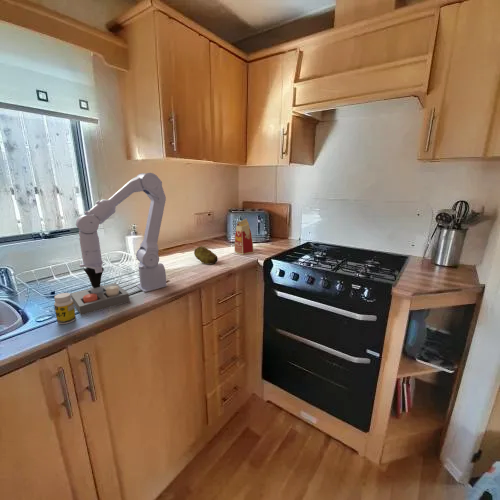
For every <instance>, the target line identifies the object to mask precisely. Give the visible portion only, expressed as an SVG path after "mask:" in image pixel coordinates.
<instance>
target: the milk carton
mask: <svg viewBox="0 0 500 500" xmlns="http://www.w3.org/2000/svg"><path fill="white" fill-rule="evenodd" d="M250 227H251V226H250V224H249V221H248V218H247V217H246V218H245V219H243V220H239V221H237V222H236V227H235V234H234V235H235V236H234V252H235V253H236V254H238V255H247V254H249V255H250V254H254V241H253V236H252V231H251V228H250Z"/></svg>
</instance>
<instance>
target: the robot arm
mask: <svg viewBox="0 0 500 500" xmlns="http://www.w3.org/2000/svg"><path fill="white" fill-rule="evenodd" d="M140 192H143V193H145V195H146V196H147V197H148V198H149V200H150V203H149V209H148V214H147V219H146V224H145V229H144V236H143V239H142V240H141V243H140V245H139V248H138V249H137V251H136V253H135V258H136V259H137V261H139V263H138V266H137V267H138V273H139V274H138V275H139V283H140V284H138V285H136V287H137V288H138V289H139V290H141V291H143V293H146V292H150V291H154V290H158V289H161V288H165V287H168V284H167V276H166V275H167V273H166V267H165V266H164V264H163V263H159V262H160V255H159V250H160V249H159V245H158V241H159V236H160V232H161V225H162V221H163V216H164V211H165V206H166V201H167V198H166V194H165V191H164V188H163V182H162V180H161V179H160V178H159V176H157V174H155V173H153V172H146V173H145V172H142V173H139V174H137V175H136V176H134V177H133V178H131V179H130V180H128V181H127V182H126V183H125V184H124V185H123V186H122V187H121V188H119V190H118V191H116V192H115V193H114V194H113V195H112V196H110V198H108V199H101V200H96V201H95V203H94V204H95V205H93V207H92V208H90V209H88V210H84V214H83V215H80V216H79V217H78V218H77V219H76V223H75V226H76V227H77V229H78V235H79V238H78V240H79V245H80V251H81V256H82V257H81V258H82V263H79V267H80V268H83V271H84V272H85V274H86V275H87V277H88V281H89V282H90V284H91V287H93V288H97V287H100V285H102V284H101V283H102V281H101V280H102V276H103V273H104V271H105V268H104V267H103V263H104V261H103V257H102V252H101V245H100V244H101V243H100V237H99V235H98V230H99V225H102V224H103V223H104V222H105V221H107V220H108V219H109V218H111V216H113V215H114V214H115V213H116V208H117V206H118V205H119V204H121V203H122V202H124V201H125V200H126V199H127V198H129V197H130V196H131V195H132V194H134V193H140Z"/></svg>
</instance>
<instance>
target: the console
mask: <svg viewBox="0 0 500 500" xmlns="http://www.w3.org/2000/svg"><path fill="white" fill-rule="evenodd" d="M110 286H118V288H119V295H115V296H111V297H107V295H106V288H107V287H110ZM103 291H104V292H101V293H97V299H98V300H96V301H92V302H88V303H84V300H83V297H84V296H85V295H88V294H91V291H90V288H87V289H84V290H83V289H82V290H80V291H75V292H71V293H70V292H69V293H70V295H71V299H72V300H73V304H74V308H75V309H76V310H77V312H78V313H79V314H80V316H83V315H87V314H90V313H94V312H97V311H98V312H99V311H101V310H104V309H108V308H112V307H115V306H119V305H123V304H126V303H128V302H130V294H129V292H127V291H126V290H125V289H124V288H122V286H120V285H119V284H117V283H116V282H114V283H109V284H106V285H105V284H104V285H103Z"/></svg>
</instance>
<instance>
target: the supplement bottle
mask: <svg viewBox="0 0 500 500" xmlns="http://www.w3.org/2000/svg"><path fill="white" fill-rule="evenodd" d="M53 307H54V310H55V317H56V322H57V323H58V324H59V325H67V324H70V323H71V324H72V323H73V322H74V321H75V320H76V319H77V318H76V310H75V305H74V304H73V300H72V299H71V294H70V292H61V293H59V294H56V295H54V303H53Z"/></svg>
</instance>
